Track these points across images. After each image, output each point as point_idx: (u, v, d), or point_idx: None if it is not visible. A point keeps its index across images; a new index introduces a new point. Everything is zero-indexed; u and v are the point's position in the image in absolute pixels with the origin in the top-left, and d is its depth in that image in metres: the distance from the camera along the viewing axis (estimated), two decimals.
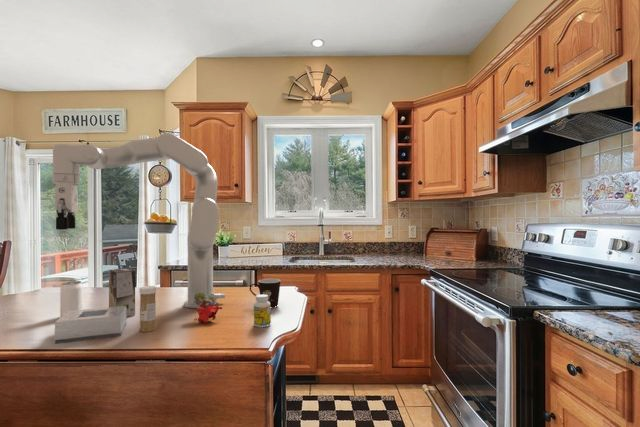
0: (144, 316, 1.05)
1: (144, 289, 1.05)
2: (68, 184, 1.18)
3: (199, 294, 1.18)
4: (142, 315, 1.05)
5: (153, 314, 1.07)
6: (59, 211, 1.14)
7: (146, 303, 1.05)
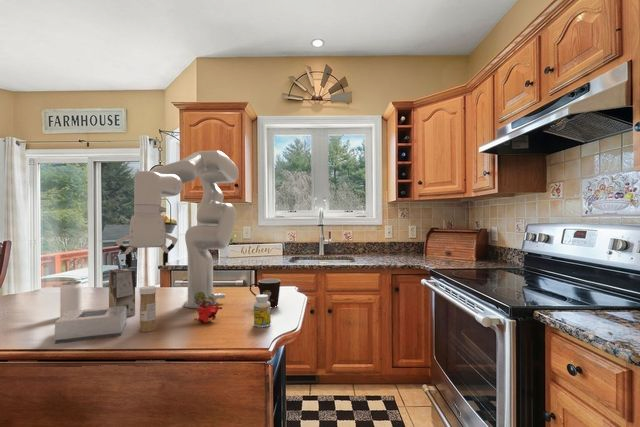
0: (144, 316, 1.05)
1: (144, 289, 1.05)
2: None
3: (199, 294, 1.18)
4: (142, 315, 1.05)
5: (153, 314, 1.07)
6: (174, 245, 1.10)
7: (146, 303, 1.05)
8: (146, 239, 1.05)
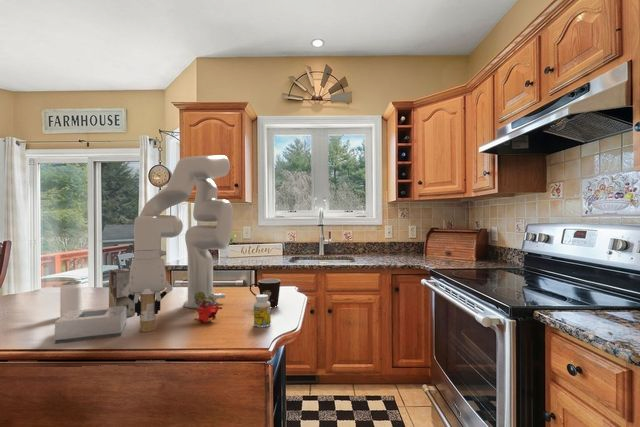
0: (144, 316, 1.05)
1: None
2: None
3: (199, 294, 1.18)
4: (142, 315, 1.05)
5: (153, 314, 1.07)
6: None
7: (146, 303, 1.05)
8: (146, 284, 1.05)
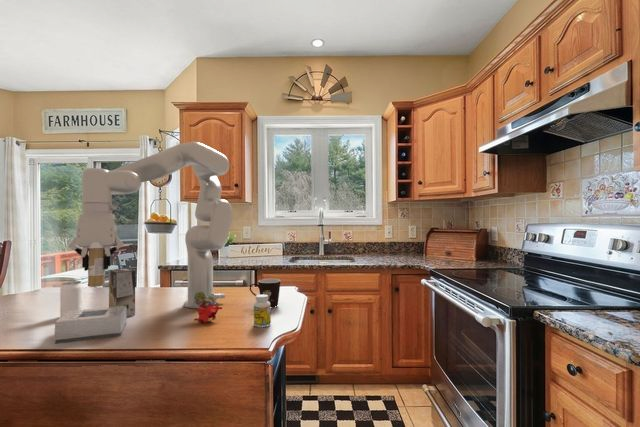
0: (92, 270, 1.02)
1: (92, 243, 1.03)
2: None
3: (199, 294, 1.18)
4: (90, 270, 1.03)
5: (102, 269, 1.04)
6: (117, 248, 1.07)
7: (94, 257, 1.03)
8: (94, 237, 1.03)
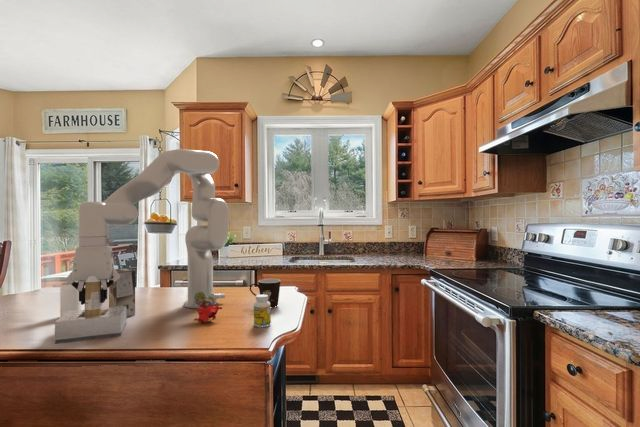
0: (88, 304, 1.02)
1: (88, 277, 1.02)
2: None
3: (199, 294, 1.18)
4: (86, 304, 1.02)
5: (98, 303, 1.04)
6: (113, 281, 1.07)
7: (90, 291, 1.02)
8: (91, 271, 1.03)
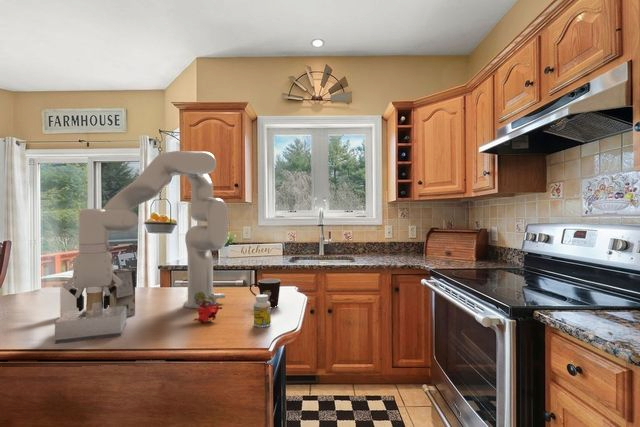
0: (90, 315, 1.03)
1: (90, 288, 1.03)
2: None
3: (199, 294, 1.18)
4: (88, 314, 1.03)
5: (100, 313, 1.04)
6: (116, 287, 1.07)
7: (91, 302, 1.03)
8: (91, 278, 1.03)
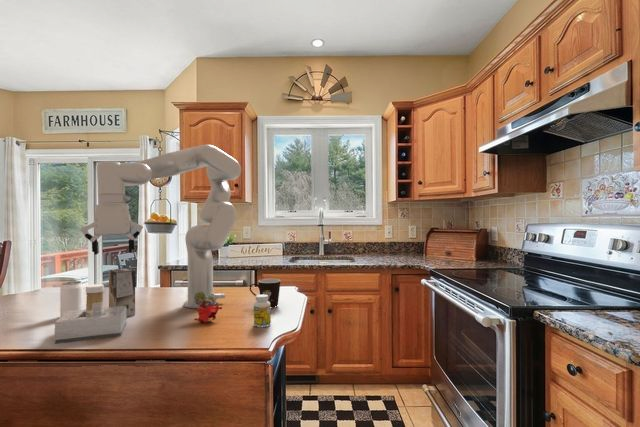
0: (90, 315, 1.03)
1: (90, 288, 1.03)
2: None
3: (199, 294, 1.18)
4: (88, 314, 1.03)
5: (100, 313, 1.04)
6: (139, 233, 1.15)
7: (92, 302, 1.03)
8: (111, 226, 1.10)
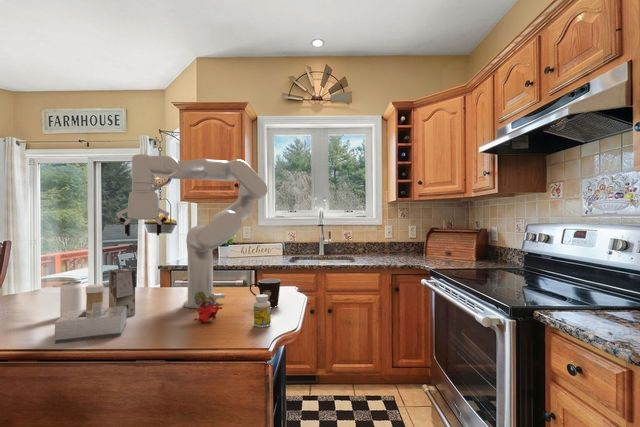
0: (90, 315, 1.03)
1: (90, 288, 1.03)
2: None
3: (199, 294, 1.18)
4: (88, 314, 1.03)
5: (100, 313, 1.04)
6: None
7: (91, 302, 1.03)
8: (142, 212, 1.24)
